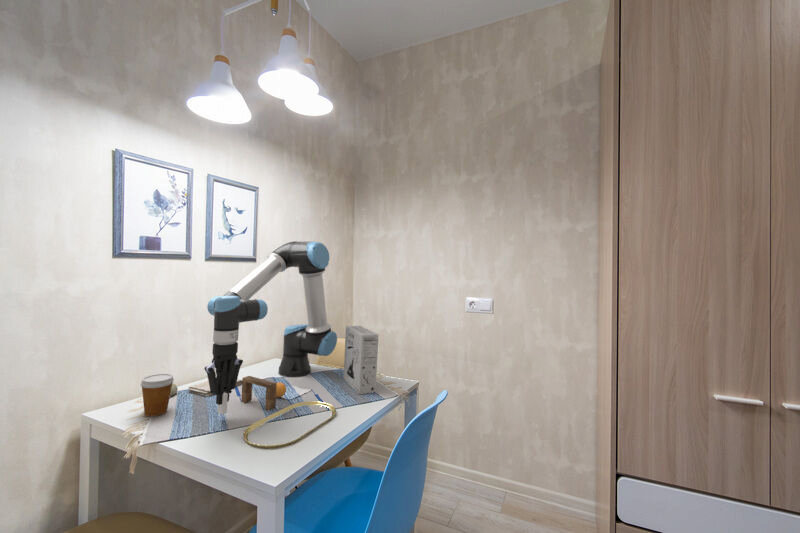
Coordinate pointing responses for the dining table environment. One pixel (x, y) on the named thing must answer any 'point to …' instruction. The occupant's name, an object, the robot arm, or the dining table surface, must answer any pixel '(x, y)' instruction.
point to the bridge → (269, 385)
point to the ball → (280, 389)
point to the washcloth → (205, 388)
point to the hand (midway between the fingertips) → (222, 412)
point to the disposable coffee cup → (156, 393)
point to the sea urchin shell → (173, 389)
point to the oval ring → (281, 413)
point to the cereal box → (360, 359)
